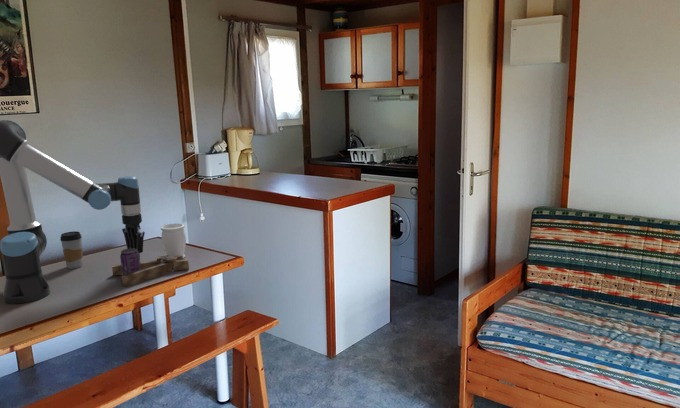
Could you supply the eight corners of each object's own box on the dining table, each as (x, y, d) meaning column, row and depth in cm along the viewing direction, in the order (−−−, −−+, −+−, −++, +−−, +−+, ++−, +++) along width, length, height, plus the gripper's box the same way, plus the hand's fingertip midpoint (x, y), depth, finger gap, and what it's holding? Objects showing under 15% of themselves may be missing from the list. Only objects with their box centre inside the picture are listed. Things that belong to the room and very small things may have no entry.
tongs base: (125, 287, 204) (124, 276, 203) (116, 284, 208) (115, 273, 207) (189, 265, 227) (188, 256, 226) (180, 263, 231) (179, 254, 230)
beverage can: (129, 275, 217) (126, 247, 215) (145, 276, 216) (142, 248, 213) (119, 281, 210) (115, 252, 208) (135, 282, 209) (132, 253, 206)
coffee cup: (89, 263, 235) (85, 231, 232) (78, 269, 227) (73, 236, 224) (71, 263, 236) (67, 231, 232) (60, 269, 227) (55, 236, 224)
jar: (186, 260, 235) (183, 227, 232) (162, 262, 233) (158, 229, 230) (188, 253, 245) (185, 222, 242) (165, 255, 244) (162, 223, 241)
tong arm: (112, 278, 213) (110, 266, 212) (113, 273, 219) (112, 262, 218) (189, 268, 223) (188, 257, 222) (188, 264, 229) (187, 253, 228)
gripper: (148, 214, 217) (153, 268, 222) (130, 210, 224) (136, 263, 229) (132, 217, 211) (137, 273, 216) (114, 213, 219) (120, 267, 224)
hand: (136, 268), depth 223 cm, fingers closed
